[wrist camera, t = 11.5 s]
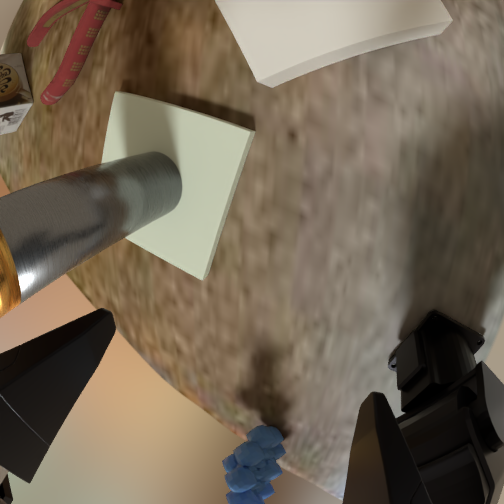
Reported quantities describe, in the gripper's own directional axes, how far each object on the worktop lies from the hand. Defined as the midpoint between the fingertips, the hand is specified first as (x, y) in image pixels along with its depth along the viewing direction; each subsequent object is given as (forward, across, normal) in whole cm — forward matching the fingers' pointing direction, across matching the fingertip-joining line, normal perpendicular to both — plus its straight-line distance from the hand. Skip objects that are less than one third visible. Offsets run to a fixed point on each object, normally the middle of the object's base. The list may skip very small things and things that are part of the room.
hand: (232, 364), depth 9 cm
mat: (+14, +10, 0) cm, 17 cm away
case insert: (+15, +3, -18) cm, 24 cm away
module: (+13, +10, 0) cm, 17 cm away
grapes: (+11, -3, +26) cm, 28 cm away
